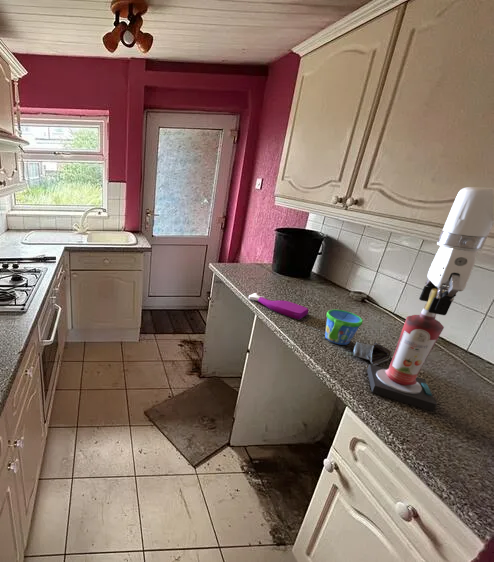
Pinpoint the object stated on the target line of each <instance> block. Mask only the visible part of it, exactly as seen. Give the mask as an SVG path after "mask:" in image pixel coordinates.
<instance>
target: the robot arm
mask: <svg viewBox="0 0 494 562" xmlns="http://www.w3.org/2000/svg"><path fill="white" fill-rule="evenodd" d="M493 227H494V187H487V186H486V187H485V186H466V187H463V188H461V189H460V190H459V191H458V193H457V195H456V197H455V199H454V201H453V203H452V206H451V208H450V211H449V213H448V215H447V218H446V220H445V223H444V225H443V228H442V229H441V232H440V234H439V237H438V240H437V242H436V245H437V246H439V248H438V249H437V252H436V253H435V255H434V258H433V260H432V262H431V264H430V266H429V269H428V272H427V274H426V275H427V280H426V281H425V284H424V286H423V288H422V291H421V293H420V295H419V301H420V302H421V301H422V302H427V301H428V299H429V294H430V292H431V290H432V289H438V290H437V296H436V297H434V298H433V301H432V303H431V305H430V307H429V310H428V311H429V312H430V313H434V314H436V315H439V316H446V315H447V313H448V311H449V310H450V307H451V306H452V303H453V301H454V299H455V297H456V296H457V293H459V292H463V291H465V289H466V287H467V285H468V282H469V280H470V277H471V275H472V273H473V269H474V267H475V264H476V261H477V258H478V257H477V256H478V252H482V249H483V247H484V245H485V243H486V241H487V239H488V237H489V234H490V232H491V231H492V228H493ZM443 290H444V291H445V292H443V293H442V291H443Z"/></svg>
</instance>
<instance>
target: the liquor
mask: <svg viewBox="0 0 494 562" xmlns="http://www.w3.org/2000/svg"><path fill="white" fill-rule="evenodd" d="M437 290H438V289H432V290H431V292H430V294H429V299H428V301H426V303H425V305H424V307H423V308H422V310H421V312H420V313H419V314H412V315H408V316H406V318H405V321H404V324H403V326H402V329H401V332H400V335H399V337H398V341H397V345H396V346H395V347H396V348H395V350H394V353H393V355H392V359H391V361H390V364H389V366H388V368H386V369H387V370H386V371H385V373H386V374H387V376H388V377H389V378H390V380H392V381H393V382H395V383H397V384H400V385H414V384H416V383H417V381H416V378H417V377H418V375H419V373H420V372H421V370H422V368H423V366H424V364H425V363H426V360H427V359H428V357H429V355H430V353H431V352H432V350H433V349H434V347H435V345H436V343H437V342H438V339H439V338H440V336H441V334H442V332H443V331H444V328H445V326H444V325H443V324H442V323H441V322H440V321H439V320H438V319H436V317H437V314H434V313H430V312H429V311H428V310H429V307H430V305H431V303H432V301H433V298H434V297H436V296H437ZM445 291H446V290H443V291H442V293H443V292H445Z"/></svg>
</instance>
